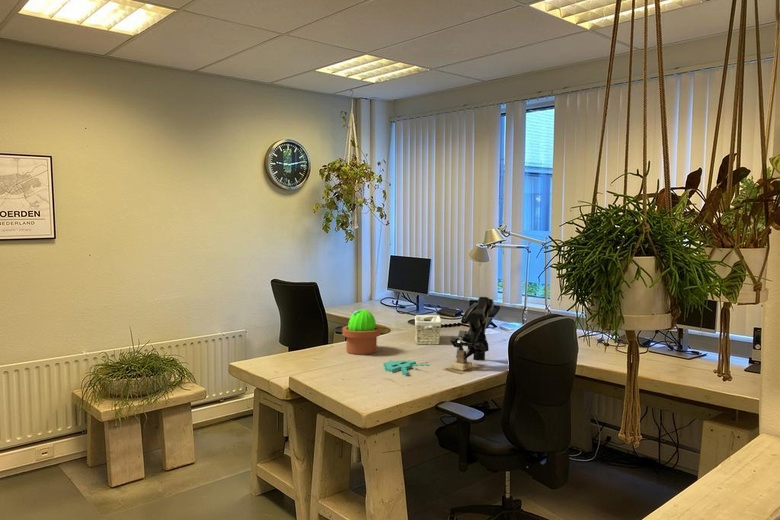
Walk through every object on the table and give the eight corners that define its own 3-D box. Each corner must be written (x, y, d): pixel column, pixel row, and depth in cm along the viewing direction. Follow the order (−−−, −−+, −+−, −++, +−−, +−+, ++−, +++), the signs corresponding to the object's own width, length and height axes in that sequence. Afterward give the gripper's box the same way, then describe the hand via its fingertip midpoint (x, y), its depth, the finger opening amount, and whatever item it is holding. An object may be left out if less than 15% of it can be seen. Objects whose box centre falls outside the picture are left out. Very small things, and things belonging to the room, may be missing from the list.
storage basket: (414, 336, 372) (415, 314, 371) (439, 337, 371) (440, 314, 370) (414, 345, 348) (414, 321, 347) (441, 345, 347) (441, 321, 346)
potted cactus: (381, 347, 342) (381, 305, 340) (379, 356, 320) (379, 312, 318) (344, 346, 342) (344, 305, 340) (340, 355, 320) (340, 311, 318)
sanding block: (460, 365, 296) (461, 348, 295) (471, 368, 291) (472, 350, 291) (451, 368, 290) (451, 351, 289) (462, 371, 285) (463, 353, 285)
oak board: (462, 365, 302) (463, 362, 302) (482, 370, 294) (482, 367, 294) (441, 372, 289) (441, 369, 289) (461, 377, 281) (461, 374, 281)
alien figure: (429, 368, 297) (399, 362, 310) (429, 364, 297) (399, 358, 310) (406, 377, 282) (375, 369, 294) (406, 372, 282) (375, 365, 294)
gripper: (452, 321, 298) (438, 346, 291) (482, 326, 285) (469, 352, 278) (460, 334, 304) (447, 358, 297) (490, 339, 292) (477, 365, 285)
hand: (460, 358), depth 289 cm, fingers closed on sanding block, 4 cm apart
